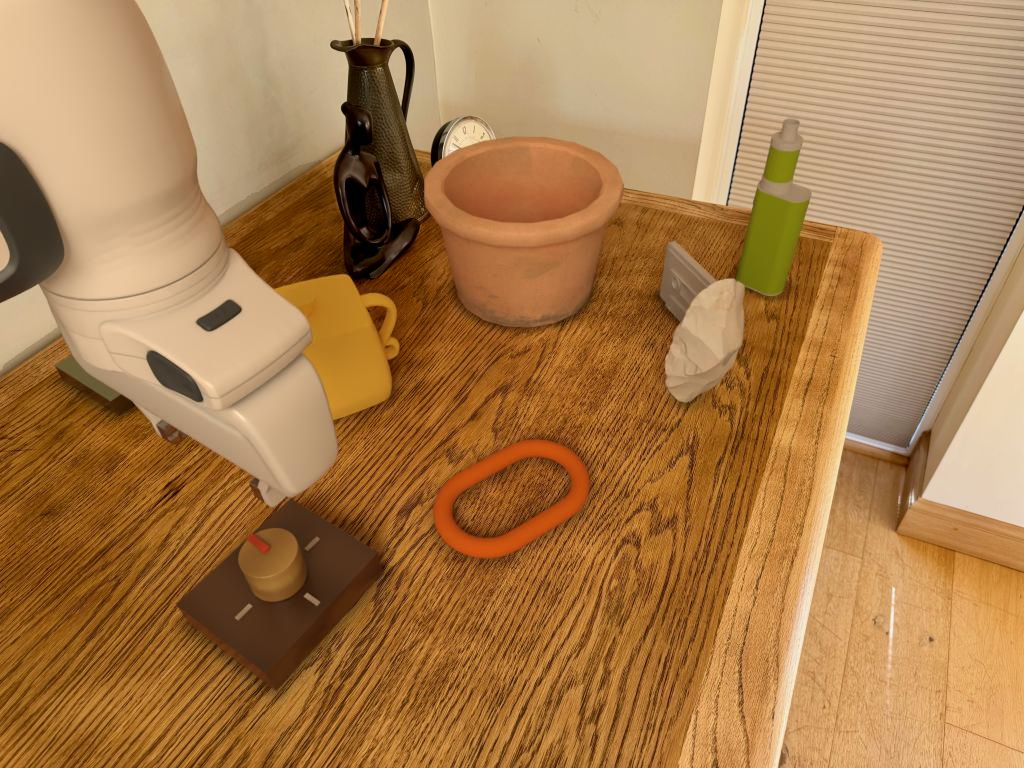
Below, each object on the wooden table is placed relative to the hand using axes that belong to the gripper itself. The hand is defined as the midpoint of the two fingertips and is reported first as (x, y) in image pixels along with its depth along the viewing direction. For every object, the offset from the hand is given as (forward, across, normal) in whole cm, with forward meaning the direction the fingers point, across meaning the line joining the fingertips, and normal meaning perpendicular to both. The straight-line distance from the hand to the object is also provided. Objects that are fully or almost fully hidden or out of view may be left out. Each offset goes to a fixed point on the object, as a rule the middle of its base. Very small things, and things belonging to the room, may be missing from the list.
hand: (223, 464), depth 48 cm
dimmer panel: (+17, +1, 0) cm, 17 cm away
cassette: (+16, +14, +50) cm, 55 cm away
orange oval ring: (+16, +11, +18) cm, 27 cm away
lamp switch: (+17, -34, +12) cm, 40 cm away
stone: (+16, +20, +39) cm, 47 cm away
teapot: (+17, -15, +19) cm, 30 cm away
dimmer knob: (+14, +1, 0) cm, 14 cm away
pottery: (+16, -6, +46) cm, 49 cm away
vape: (+16, +18, +62) cm, 67 cm away
